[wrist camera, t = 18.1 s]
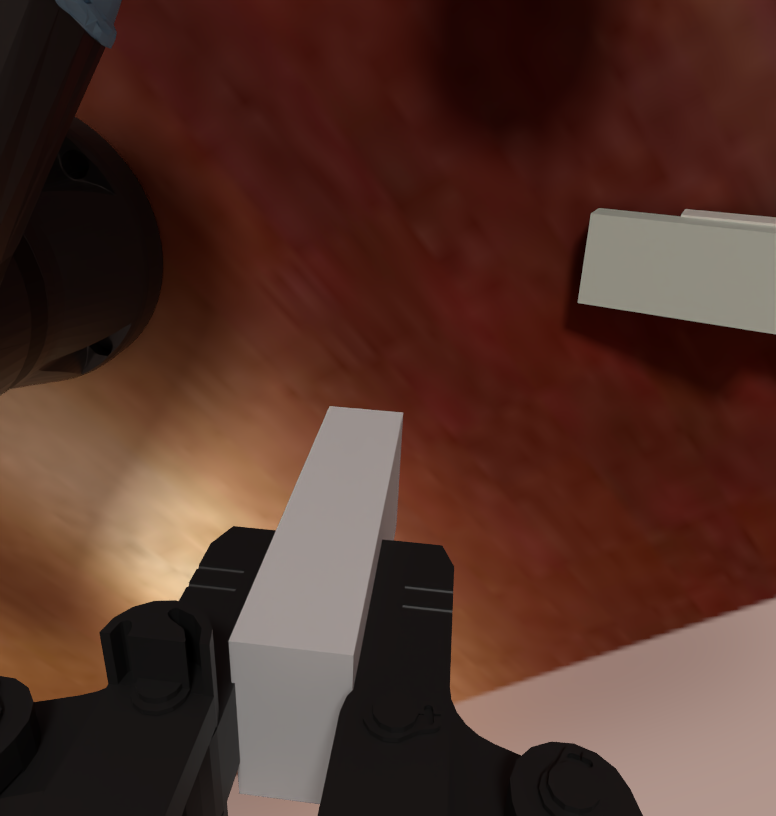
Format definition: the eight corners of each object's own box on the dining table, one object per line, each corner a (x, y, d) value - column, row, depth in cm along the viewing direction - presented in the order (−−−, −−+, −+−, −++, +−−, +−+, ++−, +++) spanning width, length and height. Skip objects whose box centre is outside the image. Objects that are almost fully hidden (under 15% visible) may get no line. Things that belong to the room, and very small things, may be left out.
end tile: (577, 302, 35) (801, 338, 31) (590, 213, 33) (831, 239, 29) (585, 294, 37) (800, 327, 33) (598, 208, 35) (828, 232, 31)
